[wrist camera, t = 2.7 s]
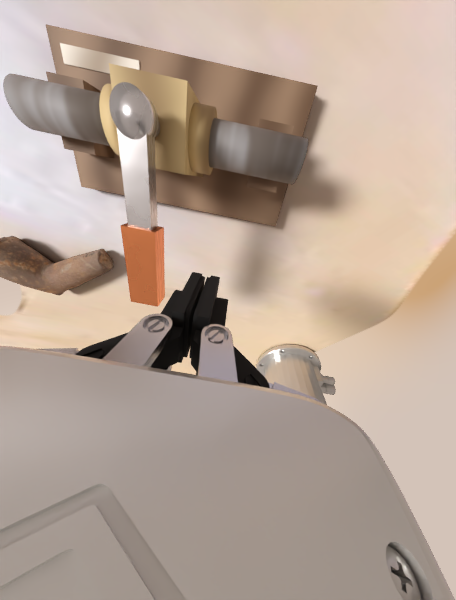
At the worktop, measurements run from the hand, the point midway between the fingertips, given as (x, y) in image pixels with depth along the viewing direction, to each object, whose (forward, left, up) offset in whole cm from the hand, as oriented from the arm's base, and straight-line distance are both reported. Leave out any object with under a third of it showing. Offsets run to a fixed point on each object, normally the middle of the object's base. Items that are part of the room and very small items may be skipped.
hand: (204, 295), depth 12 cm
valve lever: (+6, -2, -6) cm, 9 cm away
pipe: (+25, +8, -17) cm, 31 cm away
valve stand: (+6, -9, -16) cm, 19 cm away
